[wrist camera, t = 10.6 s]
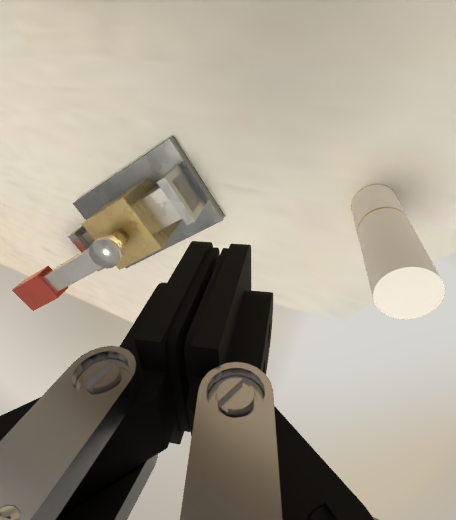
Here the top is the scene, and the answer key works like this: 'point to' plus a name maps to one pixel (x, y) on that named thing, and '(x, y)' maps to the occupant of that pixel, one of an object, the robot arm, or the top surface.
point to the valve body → (148, 205)
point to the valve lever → (69, 272)
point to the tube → (394, 256)
